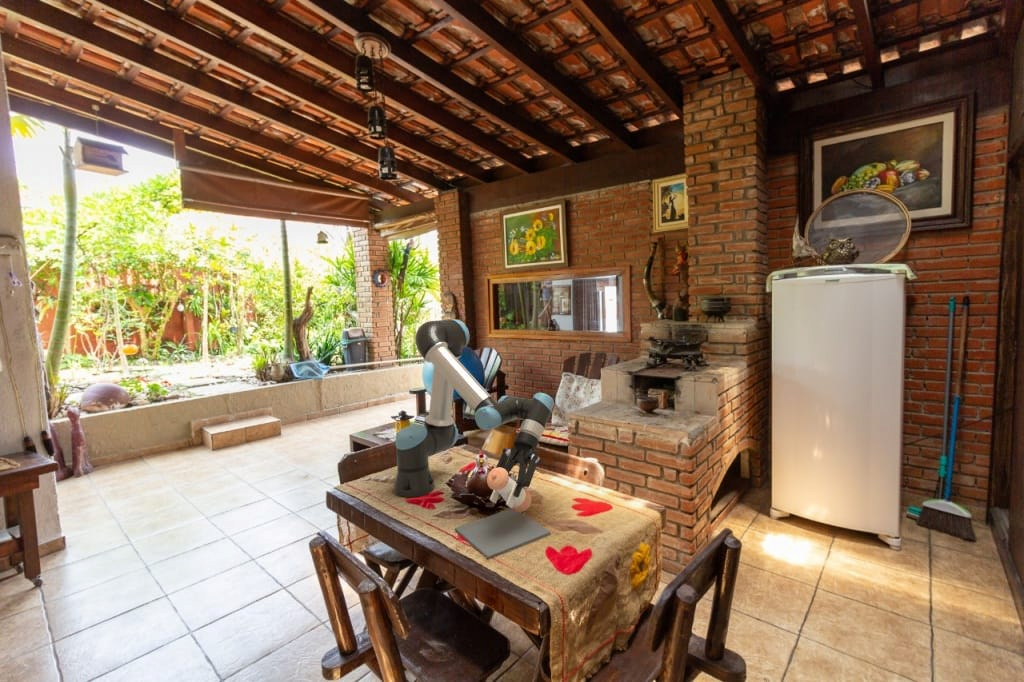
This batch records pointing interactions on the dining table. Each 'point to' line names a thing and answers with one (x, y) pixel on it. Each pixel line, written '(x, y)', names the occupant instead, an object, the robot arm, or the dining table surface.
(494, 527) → the slate mat
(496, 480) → the pepper shaker
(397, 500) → the dining table surface
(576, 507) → the dining table surface
